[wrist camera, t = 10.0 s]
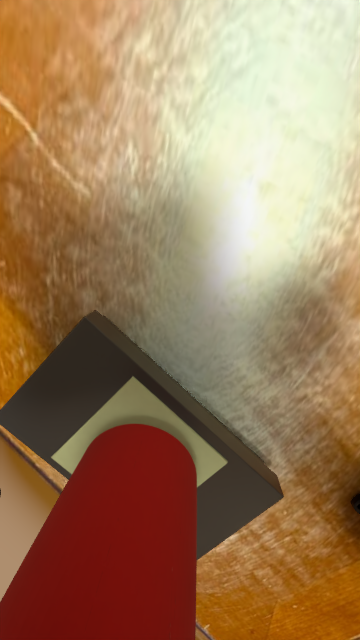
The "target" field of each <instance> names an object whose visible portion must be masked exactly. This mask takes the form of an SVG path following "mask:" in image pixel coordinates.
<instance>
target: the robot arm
mask: <svg viewBox="0 0 360 640" xmlns="http://www.w3.org/2000/svg"><path fill="white" fill-rule="evenodd" d="M0 495H1V490H0ZM351 504H352V506H353V507H354V509H355V510H356V511H357V512H358V513H359V514H360V493H359V494H358V495H356V496H355V497H353V498H352V500H351Z"/></svg>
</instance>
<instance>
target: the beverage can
mask: <svg viewBox="0 0 360 640" xmlns="http://www.w3.org/2000/svg"><path fill="white" fill-rule="evenodd" d="M196 562H197V473H196V467H195V464H194V461H193V459H192V457H191V455H190V453H189V452H188V450H187V449H186V447H185V446H184V445H183V444H182V443H181V442H180V441H179V440H178V439H177V438H175V437H174V436H172V435H171V434H169V433H168V432H166V431H164V430H162V429H159V428H157V427H153V426H150V425H144V424H124V425H119V426H116V427H113V428H110V429H108V430H106V431H104V432H103V433H101V434H100V435H99V436H97V437H96V438H95V439H94V440H93V441H92V442H91V444H90V445H89V446H88V448H87V450H86V451H85V453H84V455H83V456H82V458H81V460H80V462H79V463H78V465H77V467H76V469H75V470H74V472H73V474H72V475H71V477H70V479H69V481H68V482H67V484H66V486H65V488H64V489H63V491H62V493H61V495H60V496H59V498H58V500H57V502H56V504H55V505H54V507H53V509H52V511H51V512H50V514H49V516H48V518H47V520H46V521H45V523H44V525H43V527H42V528H41V530H40V532H39V534H38V536H37V537H36V539H35V541H34V543H33V544H32V546H31V548H30V550H29V552H28V553H27V555H26V557H25V559H24V560H23V562H22V564H21V566H20V568H19V570H18V571H17V573H16V575H15V576H14V578H13V580H12V582H11V584H10V586H9V588H8V589H7V591H6V593H5V595H4V597H3V598H2V600H1V602H0V640H195V627H196Z"/></svg>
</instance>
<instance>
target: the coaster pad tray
mask: <svg viewBox="0 0 360 640" xmlns="http://www.w3.org/2000/svg"><path fill="white" fill-rule="evenodd" d="M124 424H144V425H150V426H153V427H157V428H159V429H162V430H164V431H166V432H168V433H169V434H171V435H172V436H174V437H175V438H177V439H178V440H179V441H180V442H181V443H182V444H183V445H184V446H185V447H186V449H187V450H188V452H189V453H190V455H191V457H192V459H193V461H194V464H195V467H196V473H197V560H198V559H199V558H201V557H202V556H203V555H205V554H206V553H208V552H209V551H210V550H212V549H213V548H214V547H216V546H217V545H219V544H220V543H221V542H223V541H224V540H225V539H227V538H228V537H230V536H231V535H232V534H234V533H235V532H236V531H238V530H239V529H241V528H242V527H243V526H245V525H246V524H248V523H249V522H250V521H252V520H253V519H254V518H256V517H257V516H259V515H260V514H261V513H263V512H264V511H265V510H267V509H268V508H270V507H271V506H272V505H274V504H275V503H276V502H278V501H279V500H281V499H282V498H283V497H284V496H283V493H282V490H281V487H280V484H279V480H278V477H277V475H276V474H275V473H274V472H273V471H271V470H270V469H269V468H268V467H267V466H266V465H265V464H264V462H263V461H262V460H261V459H260V458H259V457H258V456H257V455H256V454H255V453H254V452H253V451H251V450H250V449H249V448H248V447H247V446H246V445H245V444H244V443H243V442H242V441H241V440H239V439H238V438H237V437H236V436H235V435H234V434H233V433H232V432H231V431H230V430H229V429H227V428H226V427H225V426H224V425H223V424H222V423H221V422H220V421H219V420H218V419H216V418H215V417H214V416H213V415H212V414H211V413H210V412H209V411H208V410H207V409H206V408H204V407H203V406H202V405H201V404H200V403H199V402H198V401H197V400H196V399H195V398H194V397H192V396H191V395H190V394H189V393H188V392H187V391H186V390H185V389H184V388H183V387H182V386H180V385H179V384H178V383H177V382H176V381H175V380H174V379H173V378H172V377H171V376H169V375H168V374H167V373H166V372H165V371H164V370H163V369H162V368H161V367H160V366H159V365H157V364H156V363H155V362H154V361H153V360H152V359H151V358H150V357H149V356H148V355H147V354H145V353H144V352H143V351H142V350H141V349H140V348H139V347H138V346H137V345H136V344H135V343H133V342H132V341H131V340H130V339H129V338H128V337H127V336H126V335H125V334H124V333H122V332H121V331H120V330H119V329H118V328H117V327H116V326H115V325H114V324H113V323H112V322H110V321H109V320H108V319H107V318H106V317H105V316H102V315H101V314H100V313H99V312H97V311H96V310H94V311H93V312H91V313H90V314H88V315H86V316H85V317H84V318H83V319H82V320H81V321H80V322H79V323H78V324H77V325H76V326H75V328H74V329H73V330H72V331H71V332H70V333H69V334H68V335H67V336H66V338H65V339H64V340H63V341H62V342H61V343H60V344H59V345H58V346H57V348H56V349H55V350H54V351H53V352H52V353H51V354H50V355H49V356H48V358H47V359H46V360H45V361H44V362H43V363H42V364H41V365H40V366H39V367H38V369H37V370H36V371H35V372H34V373H33V374H32V375H31V376H30V377H29V379H28V380H27V381H26V382H25V383H24V384H23V385H22V386H21V387H20V389H19V390H18V391H17V392H16V393H15V394H14V395H13V396H12V397H11V399H10V400H9V401H8V402H7V403H6V404H5V405H4V406H3V407H2V409H1V410H0V425H2V426H3V427H4V428H5V429H7V430H8V431H9V432H10V433H11V434H13V435H14V436H15V437H16V438H18V439H19V440H20V441H21V442H23V443H24V444H25V445H26V446H28V447H29V448H30V449H31V450H32V451H34V452H35V453H36V454H37V455H39V456H40V457H41V458H42V459H44V460H45V461H46V462H47V463H48V464H50V465H51V466H52V467H53V468H55V469H56V470H57V471H58V472H60V473H61V474H62V475H63V476H65V477H66V478H67V479H68V480H69V479H70V477H71V475H72V474H73V472H74V470H75V469H76V467H77V465H78V463H79V462H80V460H81V458H82V456H83V455H84V453H85V451H86V450H87V448H88V446H89V445H90V444H91V442H92V441H93V440H94V439H95V438H96V437H97V436H99V435H100V434H101V433H103V432H104V431H106V430H108V429H110V428H113V427H116V426H119V425H124Z"/></svg>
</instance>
